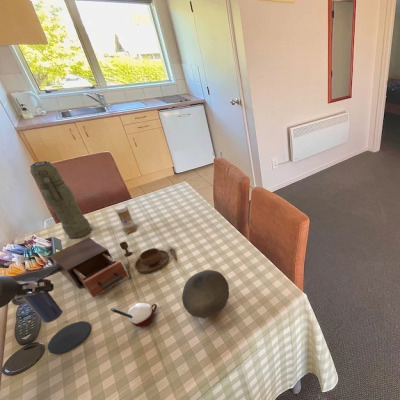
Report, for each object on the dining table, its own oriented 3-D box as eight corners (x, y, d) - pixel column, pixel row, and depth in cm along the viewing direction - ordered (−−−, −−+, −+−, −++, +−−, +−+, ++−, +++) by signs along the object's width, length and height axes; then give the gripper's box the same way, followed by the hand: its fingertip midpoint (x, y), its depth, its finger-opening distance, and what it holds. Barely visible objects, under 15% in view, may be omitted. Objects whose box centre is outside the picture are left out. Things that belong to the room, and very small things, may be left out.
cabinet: (116, 266, 105) (107, 249, 100) (79, 288, 95) (66, 270, 91) (99, 254, 111) (89, 237, 107) (62, 273, 102) (49, 255, 97)
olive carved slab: (71, 243, 117) (26, 170, 100) (66, 232, 124) (23, 163, 107) (95, 233, 123) (56, 163, 105) (89, 224, 130) (51, 156, 112)
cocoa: (158, 307, 88) (146, 282, 82) (162, 321, 84) (149, 295, 78) (125, 323, 83) (109, 297, 77) (127, 338, 79) (110, 312, 73)
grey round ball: (179, 327, 82) (164, 294, 74) (202, 290, 94) (192, 259, 86) (222, 332, 80) (211, 299, 73) (240, 294, 92) (233, 263, 85)
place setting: (129, 283, 97) (123, 271, 94) (122, 254, 111) (116, 243, 108) (180, 261, 107) (176, 250, 104) (167, 237, 120) (163, 227, 117)
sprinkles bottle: (125, 235, 122) (114, 210, 115) (126, 230, 125) (114, 206, 119) (137, 232, 124) (126, 207, 117) (137, 227, 128) (126, 203, 121)
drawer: (134, 280, 97) (126, 265, 94) (99, 302, 89) (89, 287, 85) (110, 263, 105) (102, 249, 102) (75, 282, 97) (66, 267, 93)
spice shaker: (46, 325, 72) (18, 292, 65) (40, 318, 74) (12, 285, 67) (65, 313, 75) (40, 281, 68) (59, 307, 77) (34, 274, 70)
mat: (56, 360, 73) (55, 359, 73) (42, 343, 78) (41, 341, 78) (97, 331, 81) (96, 330, 81) (82, 317, 85) (81, 315, 85)
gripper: (20, 266, 58) (71, 269, 74) (-67, 283, 54) (6, 282, 70) (20, 301, 57) (72, 296, 73) (-70, 322, 53) (6, 311, 69)
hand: (39, 289), depth 71 cm, fingers closed on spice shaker, 4 cm apart
